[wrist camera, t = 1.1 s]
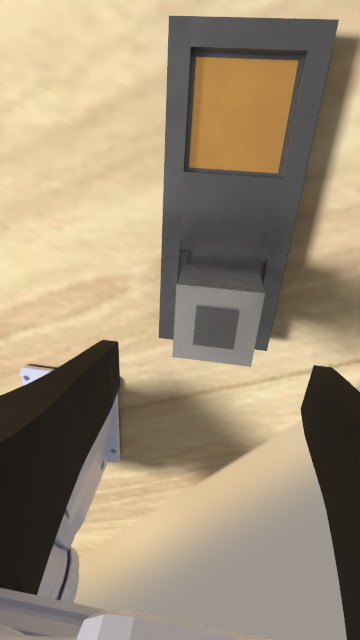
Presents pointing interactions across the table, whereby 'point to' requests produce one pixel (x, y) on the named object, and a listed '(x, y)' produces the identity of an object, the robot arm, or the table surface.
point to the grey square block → (218, 310)
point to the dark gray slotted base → (238, 144)
